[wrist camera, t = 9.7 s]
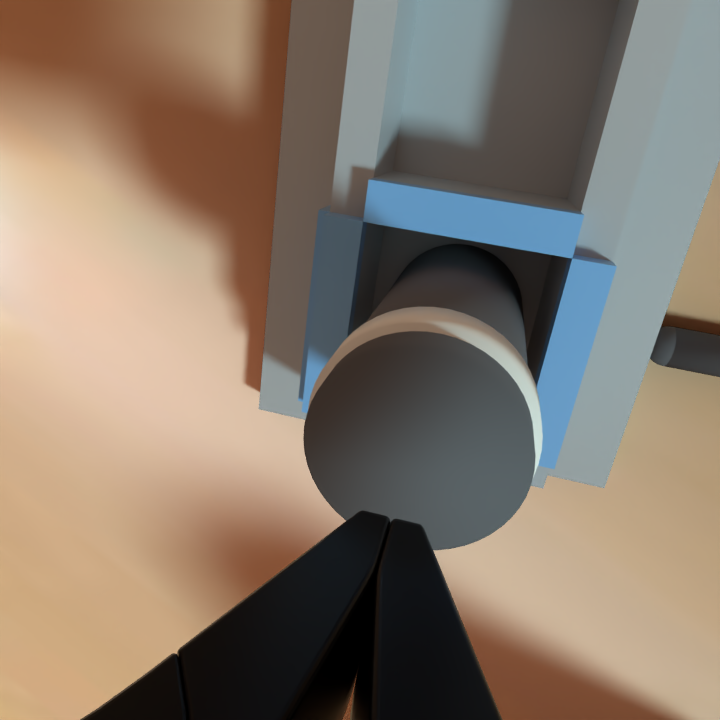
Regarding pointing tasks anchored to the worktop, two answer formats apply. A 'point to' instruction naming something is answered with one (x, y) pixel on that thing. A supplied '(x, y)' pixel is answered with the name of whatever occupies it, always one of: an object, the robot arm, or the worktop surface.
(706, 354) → the rod
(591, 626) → the worktop surface
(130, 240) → the worktop surface
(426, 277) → the dark grey cylinder
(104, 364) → the worktop surface
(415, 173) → the narrow cubby shelf
